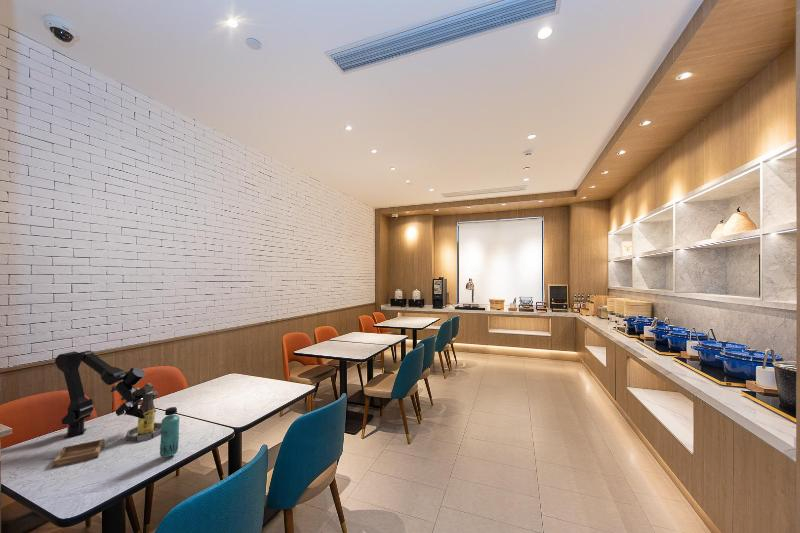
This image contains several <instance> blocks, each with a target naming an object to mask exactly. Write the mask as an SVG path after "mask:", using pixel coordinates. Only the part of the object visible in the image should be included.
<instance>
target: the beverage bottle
mask: <svg viewBox="0 0 800 533" xmlns="http://www.w3.org/2000/svg"><path fill="white" fill-rule="evenodd" d="M177 413H178V407H176V406H171V407H170V406H169V407H168V408H166V409H165V412H164V415H165V417H163V418H162V419H161V423H162V426H161V435H160V441H159V442H160V443H159V455H160V457H163V458H166V457H170V456H174V455H176V454H177V453H178V451H179V444H180V443H179V442H180V418H181V417H180V416H179V415H177Z"/></svg>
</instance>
